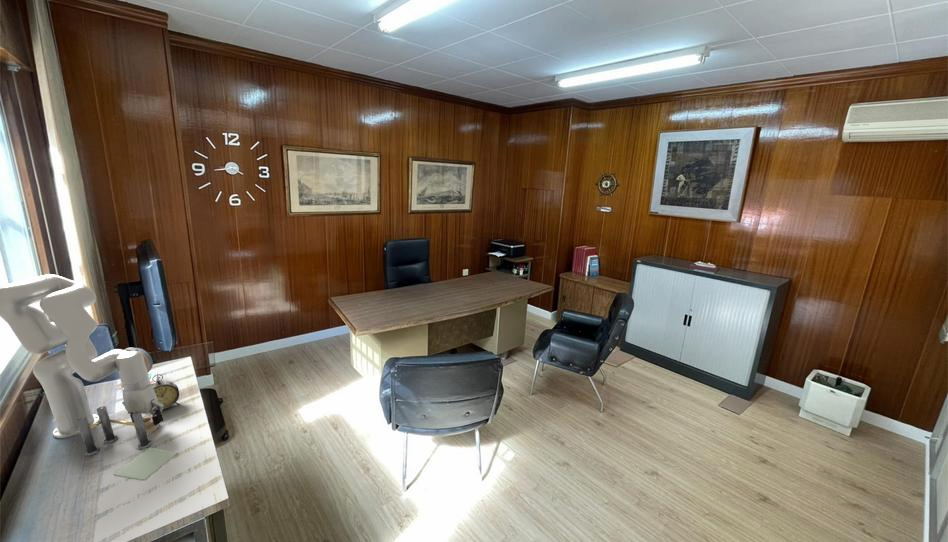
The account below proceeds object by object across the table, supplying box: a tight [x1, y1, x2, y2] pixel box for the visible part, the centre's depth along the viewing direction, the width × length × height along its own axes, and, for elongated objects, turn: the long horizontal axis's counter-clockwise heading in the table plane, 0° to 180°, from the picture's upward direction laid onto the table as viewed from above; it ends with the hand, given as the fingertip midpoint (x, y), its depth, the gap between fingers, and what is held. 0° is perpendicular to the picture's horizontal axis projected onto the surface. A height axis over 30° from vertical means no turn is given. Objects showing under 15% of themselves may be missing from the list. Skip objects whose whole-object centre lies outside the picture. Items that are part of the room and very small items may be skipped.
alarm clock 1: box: [116, 347, 161, 388], centre depth 170 cm, size 14×10×18 cm
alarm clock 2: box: [151, 373, 180, 412], centre depth 152 cm, size 11×5×16 cm, turn 132°
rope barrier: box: [77, 405, 153, 457], centre depth 130 cm, size 19×10×14 cm, turn 81°
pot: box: [134, 414, 160, 435], centre depth 142 cm, size 6×6×4 cm
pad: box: [113, 447, 179, 481], centre depth 126 cm, size 12×12×1 cm
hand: (148, 421), depth 141 cm, fingers open, 9 cm apart
